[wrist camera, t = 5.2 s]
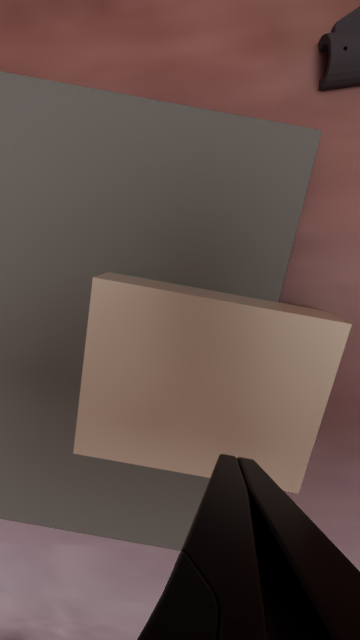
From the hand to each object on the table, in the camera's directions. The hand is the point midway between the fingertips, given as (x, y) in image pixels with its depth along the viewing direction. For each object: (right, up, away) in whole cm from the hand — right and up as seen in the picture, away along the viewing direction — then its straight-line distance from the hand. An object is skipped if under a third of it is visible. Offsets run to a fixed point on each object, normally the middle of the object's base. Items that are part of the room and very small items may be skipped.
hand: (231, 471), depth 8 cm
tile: (+4, +1, +5) cm, 7 cm away
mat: (-5, +3, +7) cm, 9 cm away
